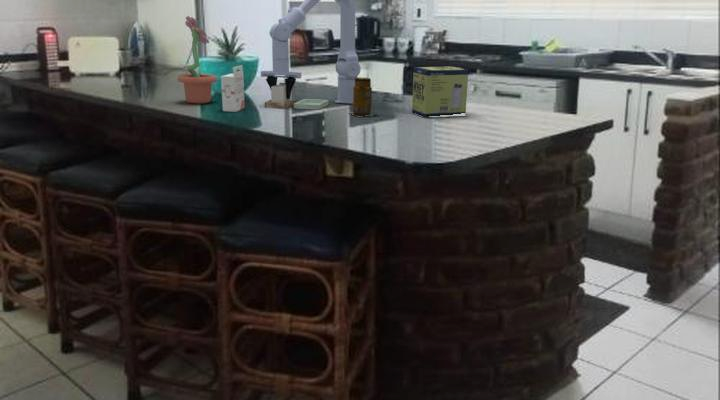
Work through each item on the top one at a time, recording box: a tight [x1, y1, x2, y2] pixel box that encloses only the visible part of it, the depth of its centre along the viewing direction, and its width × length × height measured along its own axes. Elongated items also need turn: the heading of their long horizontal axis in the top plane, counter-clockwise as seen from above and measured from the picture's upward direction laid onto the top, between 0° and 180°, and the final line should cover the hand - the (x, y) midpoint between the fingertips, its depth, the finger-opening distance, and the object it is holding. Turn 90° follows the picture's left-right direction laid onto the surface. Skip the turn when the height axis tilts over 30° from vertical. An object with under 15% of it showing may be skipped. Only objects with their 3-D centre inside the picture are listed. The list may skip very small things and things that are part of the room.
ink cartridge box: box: [220, 64, 246, 113], centre depth 214 cm, size 9×5×15 cm, turn 168°
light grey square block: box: [270, 82, 292, 103], centre depth 225 cm, size 4×8×8 cm, turn 166°
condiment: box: [352, 77, 373, 118], centre depth 209 cm, size 7×8×12 cm
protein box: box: [411, 65, 469, 118], centre depth 211 cm, size 10×16×16 cm
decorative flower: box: [177, 15, 218, 105], centre depth 225 cm, size 15×14×30 cm
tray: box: [293, 98, 329, 111], centre depth 225 cm, size 9×13×2 cm
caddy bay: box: [264, 98, 298, 110], centre depth 225 cm, size 8×11×2 cm
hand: (281, 98), depth 225 cm, fingers closed on light grey square block, 4 cm apart
